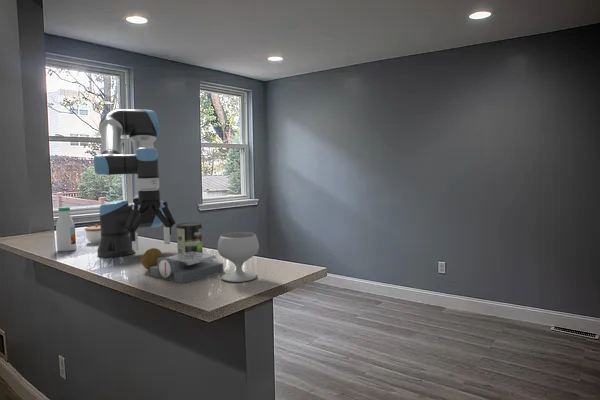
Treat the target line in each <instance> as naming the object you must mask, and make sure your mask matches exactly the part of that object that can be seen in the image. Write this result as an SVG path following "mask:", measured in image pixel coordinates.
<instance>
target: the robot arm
mask: <svg viewBox="0 0 600 400" xmlns="http://www.w3.org/2000/svg"><path fill="white" fill-rule="evenodd" d="M98 130H99V131H98V132H99V134H100V153H99V154H96V155H94V157H93V168H94V173H95V174H96V175H98V176H99V175H100V176H101V175H102V176H110V175H111V176H112V175H115V176H116V175H135V196H134V197H133V198H132V202H129V200H127V199H119V200H113V201H108V202H105V203H102V204H100V206H99V215H98V216H99V226H100V228H101V240H100V243H98V247H97V251H96V252H97V256H98V257H101V258H116V257H125V256H129V255H132V254H134V253H135V251H139V233H138V231H137V230H138V229H152V228H158V227H161V226H162V224H163V225H164V227H163V226H162V227H163V244H164V245H171V235H172V228H173V226H174V225H175V224H176V221H175V218H174V217H173V215H172V213H171V211H170V209H169V206H168V201H163V200H161V191H160V175H159V174H160V173H159V168H160V167H159V153H158V152H159V151H158V148H156V147H155V146H154V142H156V140H157V137H158V136H160V132H161V131H160V125H159V120H158V116H157V113H156V111H154V110H153V109H152V110H151V109H130V108H129V109H127V108H120V109H118V108H117V109H114V110H112V111H110V112H108V113H106V114H105V115H104V116H103V117H102V118H101V120H100V121H99V124H98ZM122 136H128V137H129V140H130V141H131V142H132V144H133V154H122Z"/></svg>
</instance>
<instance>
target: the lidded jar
mask: <svg viewBox="0 0 600 400" xmlns="http://www.w3.org/2000/svg"><path fill="white" fill-rule="evenodd" d="M84 231H85V236H86V237H85V238H86V239H87V241H88V242H89V243H90V244H99V243H100V240H101V228H100V225H98V223H95V225H93V226H87V227H85V228H84Z"/></svg>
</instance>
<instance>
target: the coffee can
mask: <svg viewBox="0 0 600 400" xmlns="http://www.w3.org/2000/svg"><path fill="white" fill-rule="evenodd" d="M202 225H203V224H202V222H201V223H200V222H183V223H178V224H176V226H175V227H176V239H177V240H176V241H177V246H176V247H177V255H178V254H183V253H187V252H191V251H193V252H199V253H204V252H203V232H202V230H203V227H202Z"/></svg>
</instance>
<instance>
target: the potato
mask: <svg viewBox="0 0 600 400" xmlns="http://www.w3.org/2000/svg"><path fill="white" fill-rule="evenodd" d="M161 257H163V253H162V251H161V250H160V249H159V248H155V247H152V248H149V249H147V250H146V251H145V252H144V253H143V254H142V256H141V258H140V262H141V265H143V267H144V268H145V269H146V270H149V271H150V267H153V266H157V258H161Z"/></svg>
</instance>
